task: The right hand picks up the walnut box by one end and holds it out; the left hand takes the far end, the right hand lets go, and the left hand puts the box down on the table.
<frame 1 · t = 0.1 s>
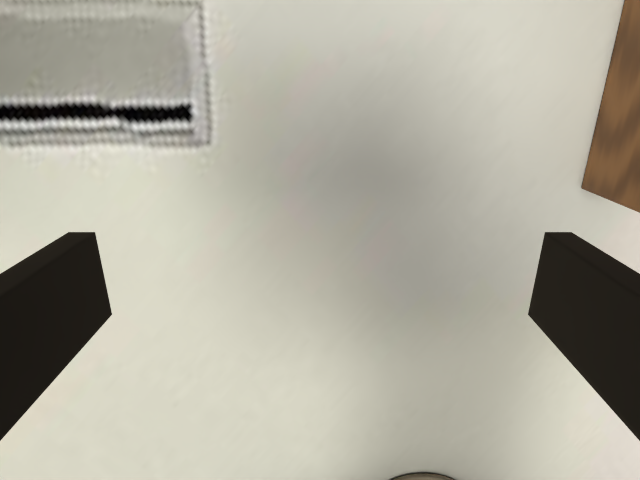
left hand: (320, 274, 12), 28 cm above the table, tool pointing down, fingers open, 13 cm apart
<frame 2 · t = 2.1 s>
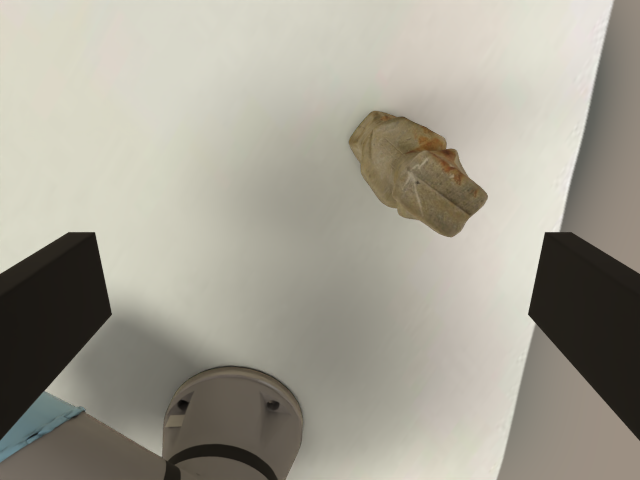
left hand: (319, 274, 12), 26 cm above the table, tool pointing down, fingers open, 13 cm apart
sculpture: (387, 147, 37), on the table
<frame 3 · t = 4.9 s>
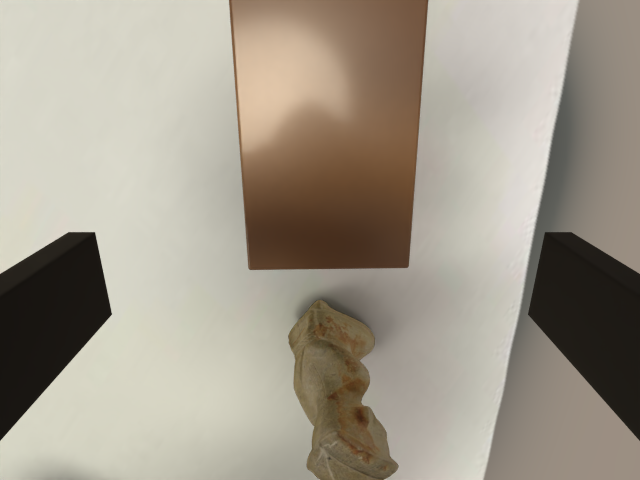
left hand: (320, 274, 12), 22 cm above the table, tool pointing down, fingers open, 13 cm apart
sculpture: (331, 324, 38), on the table
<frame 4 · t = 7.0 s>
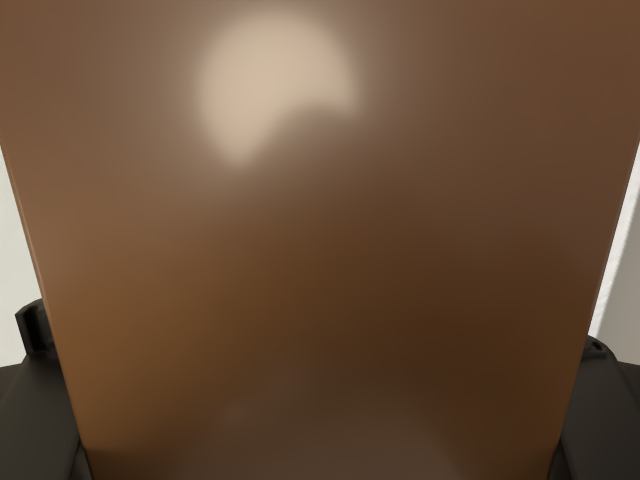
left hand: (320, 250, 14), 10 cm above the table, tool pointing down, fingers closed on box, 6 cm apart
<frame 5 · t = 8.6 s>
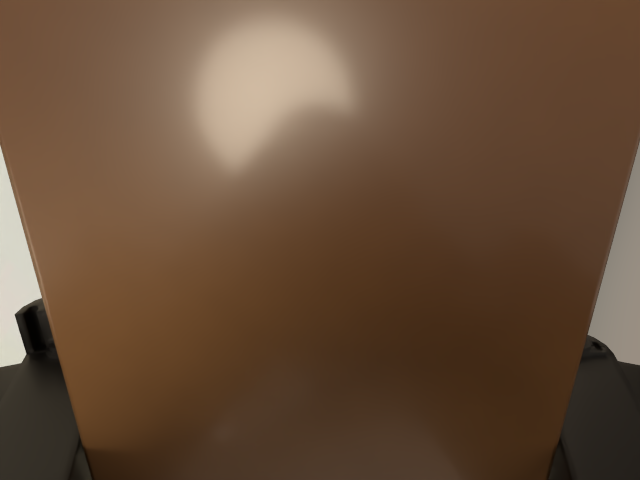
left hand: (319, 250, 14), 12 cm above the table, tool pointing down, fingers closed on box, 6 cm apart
when the left hand's fingers open (2 cm above the table, at t = 16.4 s): box drops 1 cm, on the table.
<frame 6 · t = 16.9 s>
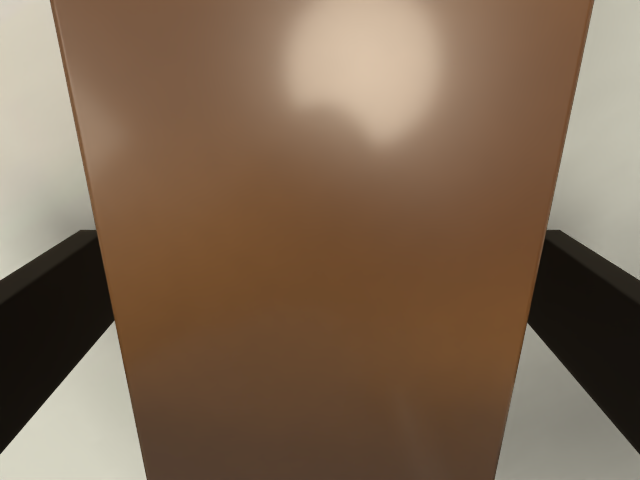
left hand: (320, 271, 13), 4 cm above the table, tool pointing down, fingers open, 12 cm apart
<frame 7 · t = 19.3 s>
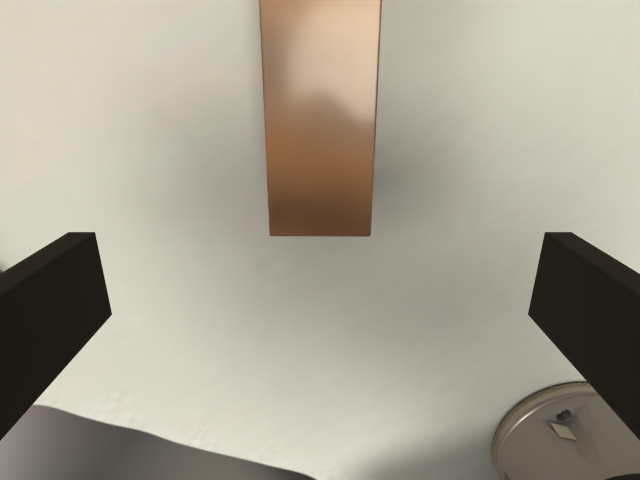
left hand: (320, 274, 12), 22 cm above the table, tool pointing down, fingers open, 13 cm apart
box: (320, 2, 29), on the table
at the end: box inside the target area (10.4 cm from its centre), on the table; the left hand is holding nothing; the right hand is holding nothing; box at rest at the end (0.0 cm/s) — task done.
